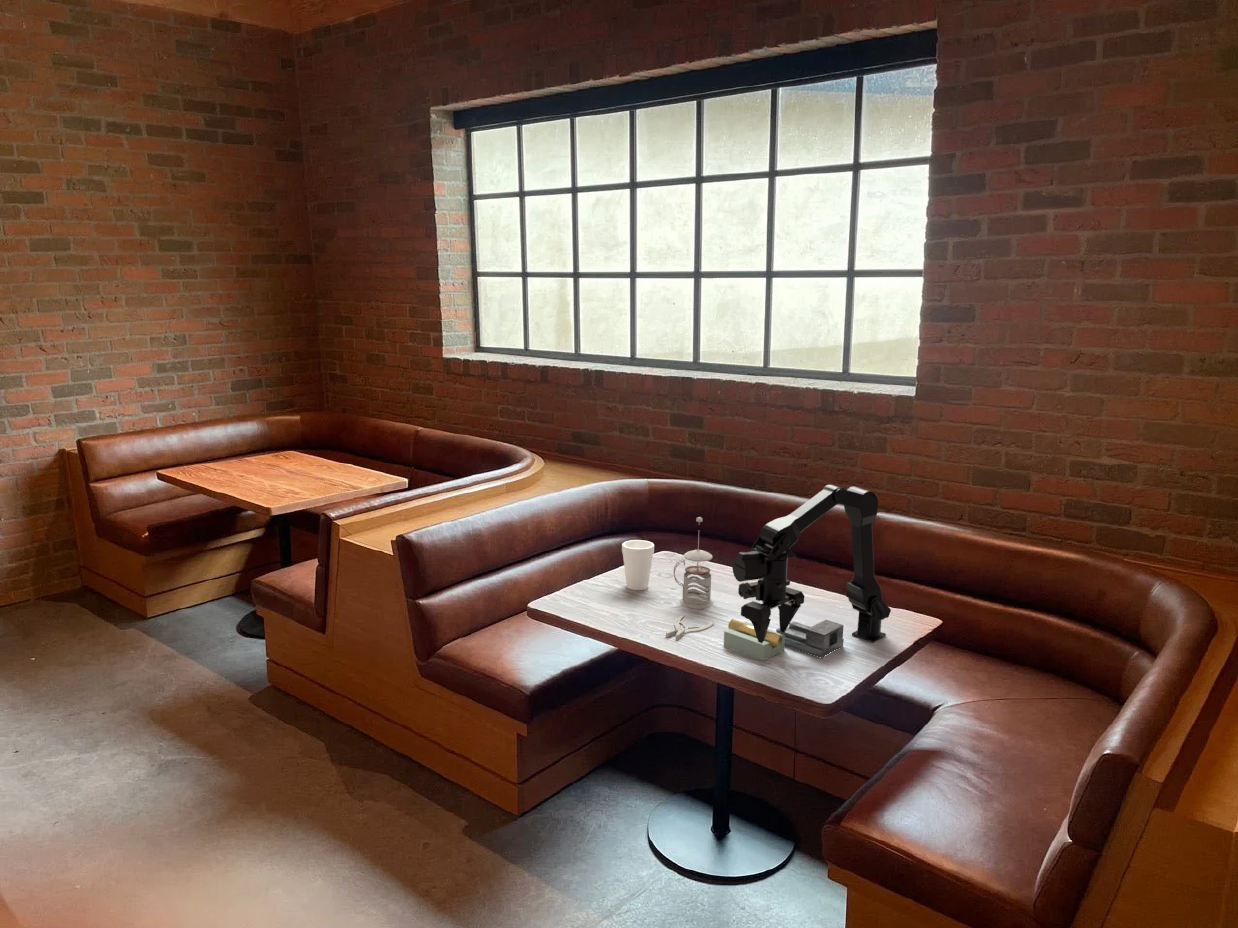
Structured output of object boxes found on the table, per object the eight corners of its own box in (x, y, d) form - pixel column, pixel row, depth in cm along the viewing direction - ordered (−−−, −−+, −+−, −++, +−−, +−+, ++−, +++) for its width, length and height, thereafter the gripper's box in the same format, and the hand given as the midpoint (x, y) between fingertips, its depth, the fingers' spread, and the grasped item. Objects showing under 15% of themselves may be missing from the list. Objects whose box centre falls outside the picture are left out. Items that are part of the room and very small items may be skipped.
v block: (744, 636, 224) (745, 621, 223) (784, 650, 216) (785, 635, 215) (723, 646, 218) (724, 631, 217) (763, 660, 209) (764, 645, 209)
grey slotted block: (795, 630, 228) (796, 609, 227) (843, 646, 218) (844, 624, 217) (773, 641, 221) (774, 619, 220) (821, 658, 211) (823, 635, 210)
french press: (715, 608, 243) (718, 522, 238) (673, 608, 243) (676, 521, 238) (712, 596, 252) (715, 512, 247) (672, 595, 252) (674, 512, 247)
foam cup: (658, 585, 261) (659, 543, 259) (643, 593, 254) (643, 551, 251) (631, 579, 266) (632, 538, 264) (615, 587, 258) (616, 545, 256)
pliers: (715, 619, 232) (689, 638, 219) (715, 625, 232) (688, 644, 220) (682, 611, 237) (654, 629, 224) (682, 617, 237) (654, 635, 225)
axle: (735, 628, 222) (735, 617, 221) (781, 644, 212) (782, 633, 212) (728, 632, 220) (728, 621, 219) (774, 648, 210) (774, 637, 209)
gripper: (769, 560, 221) (766, 618, 224) (723, 576, 208) (721, 638, 211) (807, 570, 213) (803, 630, 217) (762, 588, 200) (759, 651, 204)
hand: (771, 637), depth 212 cm, fingers open, 9 cm apart
